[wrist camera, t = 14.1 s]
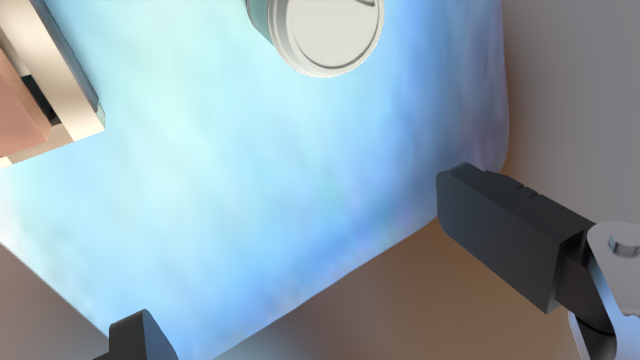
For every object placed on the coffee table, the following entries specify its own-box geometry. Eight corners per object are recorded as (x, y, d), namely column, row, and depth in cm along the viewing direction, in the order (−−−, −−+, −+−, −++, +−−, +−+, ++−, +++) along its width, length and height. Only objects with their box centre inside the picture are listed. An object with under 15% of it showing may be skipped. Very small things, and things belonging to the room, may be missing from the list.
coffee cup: (335, 14, 39) (409, 30, 30) (270, 72, 39) (323, 107, 29) (285, -72, 34) (354, -86, 25) (210, -6, 34) (250, 6, 24)
